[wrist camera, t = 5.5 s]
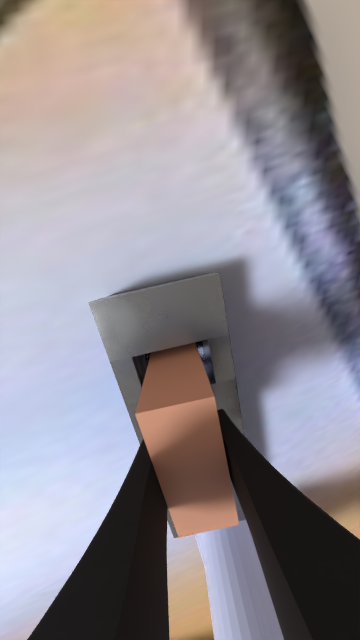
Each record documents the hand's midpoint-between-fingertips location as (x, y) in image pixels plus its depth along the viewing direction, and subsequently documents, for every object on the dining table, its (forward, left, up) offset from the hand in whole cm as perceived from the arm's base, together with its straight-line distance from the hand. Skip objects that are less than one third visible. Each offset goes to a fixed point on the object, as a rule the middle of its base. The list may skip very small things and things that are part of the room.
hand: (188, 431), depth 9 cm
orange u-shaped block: (0, 0, -3) cm, 3 cm away
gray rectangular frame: (-2, 0, -4) cm, 5 cm away
